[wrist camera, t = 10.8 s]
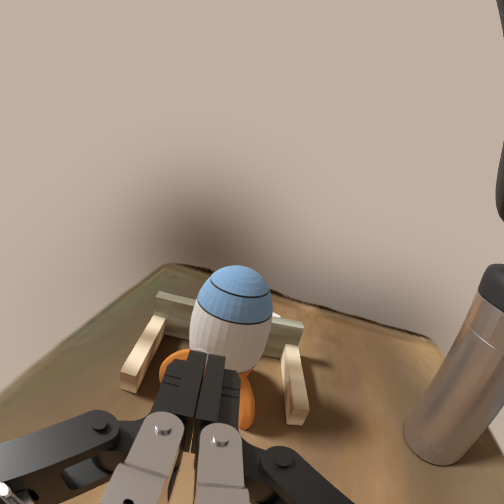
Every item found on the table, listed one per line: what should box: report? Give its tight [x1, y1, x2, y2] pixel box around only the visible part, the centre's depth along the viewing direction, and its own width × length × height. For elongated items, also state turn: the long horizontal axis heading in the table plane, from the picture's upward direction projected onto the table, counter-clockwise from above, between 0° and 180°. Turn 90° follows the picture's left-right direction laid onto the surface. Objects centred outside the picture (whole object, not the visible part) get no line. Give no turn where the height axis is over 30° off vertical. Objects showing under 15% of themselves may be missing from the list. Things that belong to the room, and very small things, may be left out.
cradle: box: [120, 291, 310, 426], centre depth 32 cm, size 13×18×5 cm
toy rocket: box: [159, 265, 273, 430], centre depth 27 cm, size 10×11×15 cm
